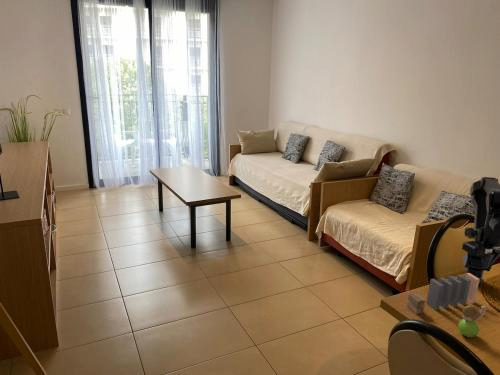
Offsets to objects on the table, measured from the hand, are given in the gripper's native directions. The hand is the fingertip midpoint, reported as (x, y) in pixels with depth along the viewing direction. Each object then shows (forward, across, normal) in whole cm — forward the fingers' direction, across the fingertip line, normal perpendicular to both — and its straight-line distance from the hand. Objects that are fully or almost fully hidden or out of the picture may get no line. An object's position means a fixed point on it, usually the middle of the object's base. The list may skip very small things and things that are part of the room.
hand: (485, 268), depth 132 cm
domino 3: (+12, +12, 0) cm, 17 cm away
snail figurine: (+12, +20, +15) cm, 28 cm away
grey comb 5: (+12, +20, 0) cm, 23 cm away
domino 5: (+12, +5, 0) cm, 13 cm away
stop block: (+12, +27, 0) cm, 30 cm away
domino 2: (+12, +16, 0) cm, 20 cm away
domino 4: (+12, +9, 0) cm, 15 cm away
